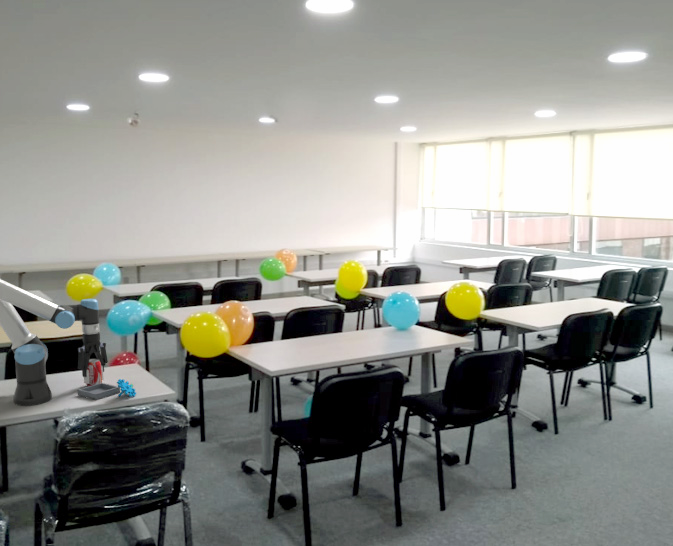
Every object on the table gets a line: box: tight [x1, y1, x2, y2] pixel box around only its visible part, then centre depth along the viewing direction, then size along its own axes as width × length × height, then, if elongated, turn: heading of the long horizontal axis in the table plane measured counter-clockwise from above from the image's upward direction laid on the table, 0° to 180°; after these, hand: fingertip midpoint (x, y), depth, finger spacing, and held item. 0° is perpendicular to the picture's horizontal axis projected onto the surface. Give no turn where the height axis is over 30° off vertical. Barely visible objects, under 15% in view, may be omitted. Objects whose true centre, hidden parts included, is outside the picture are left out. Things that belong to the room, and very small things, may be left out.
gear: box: [116, 378, 137, 398], centre depth 293 cm, size 11×6×10 cm
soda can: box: [85, 358, 103, 387], centre depth 308 cm, size 7×7×12 cm
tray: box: [77, 382, 121, 401], centre depth 296 cm, size 13×13×3 cm
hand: (93, 381), depth 309 cm, fingers closed on soda can, 7 cm apart
